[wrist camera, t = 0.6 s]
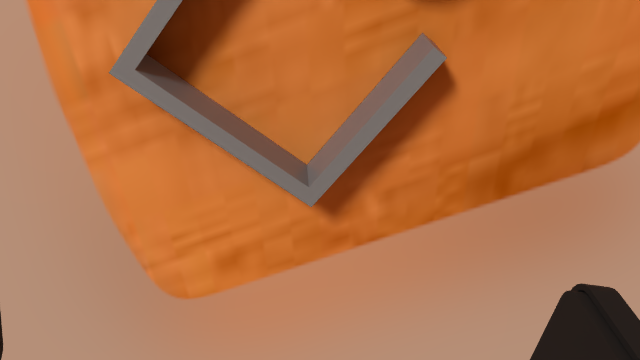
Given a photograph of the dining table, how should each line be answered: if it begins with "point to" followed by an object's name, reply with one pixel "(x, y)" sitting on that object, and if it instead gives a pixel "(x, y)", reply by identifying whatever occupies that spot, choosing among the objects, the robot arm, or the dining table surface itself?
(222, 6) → the dining table surface
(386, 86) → the box
